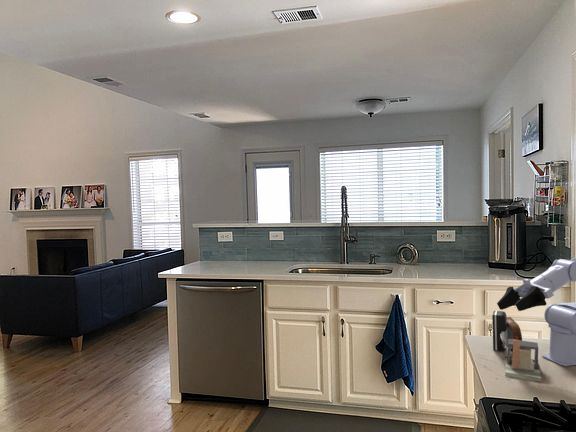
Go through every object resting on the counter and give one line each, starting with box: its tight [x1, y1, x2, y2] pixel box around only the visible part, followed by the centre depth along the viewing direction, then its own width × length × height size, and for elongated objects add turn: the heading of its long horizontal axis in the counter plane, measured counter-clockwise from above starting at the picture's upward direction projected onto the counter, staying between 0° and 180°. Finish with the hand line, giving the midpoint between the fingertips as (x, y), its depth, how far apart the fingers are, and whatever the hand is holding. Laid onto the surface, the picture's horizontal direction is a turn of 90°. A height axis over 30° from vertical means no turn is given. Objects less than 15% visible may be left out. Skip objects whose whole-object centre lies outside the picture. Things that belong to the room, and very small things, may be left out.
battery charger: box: [491, 310, 508, 352], centre depth 141 cm, size 7×4×11 cm, turn 151°
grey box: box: [507, 339, 539, 369], centre depth 126 cm, size 4×7×6 cm, turn 64°
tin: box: [500, 316, 523, 352], centre depth 143 cm, size 15×3×8 cm, turn 169°
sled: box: [511, 339, 534, 372], centre depth 125 cm, size 8×5×8 cm
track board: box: [504, 354, 542, 383], centre depth 125 cm, size 14×8×1 cm, turn 154°
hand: (508, 307), depth 125 cm, fingers open, 7 cm apart
